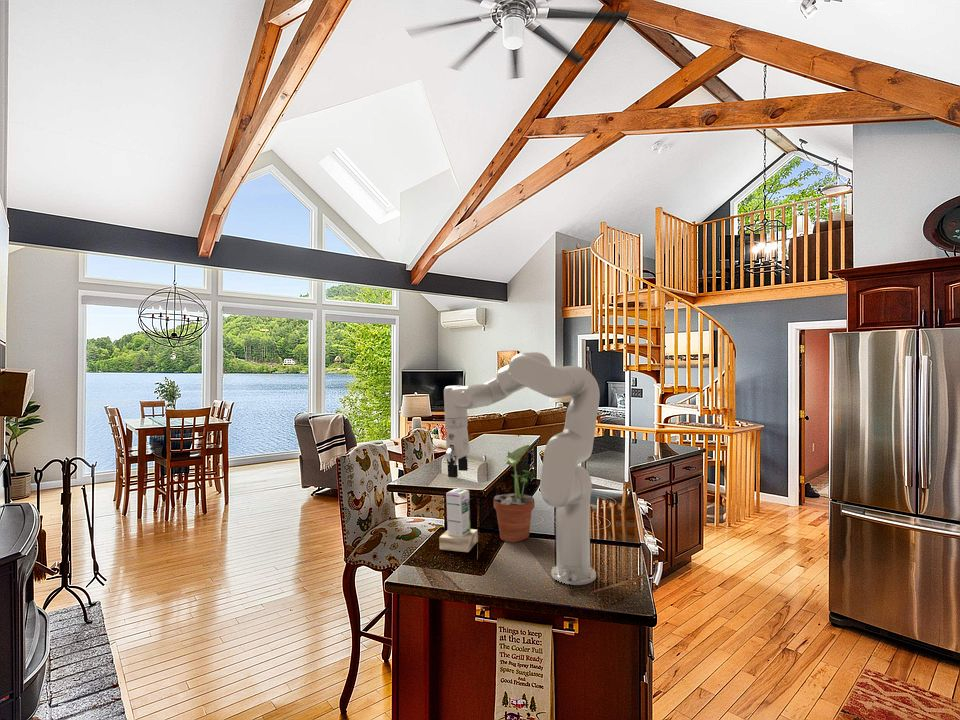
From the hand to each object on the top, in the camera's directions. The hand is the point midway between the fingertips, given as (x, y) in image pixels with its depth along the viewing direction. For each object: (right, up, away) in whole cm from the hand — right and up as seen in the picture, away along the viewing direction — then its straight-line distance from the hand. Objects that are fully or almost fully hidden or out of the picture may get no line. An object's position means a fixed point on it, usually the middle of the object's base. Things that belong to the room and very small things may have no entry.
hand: (458, 473), depth 174 cm
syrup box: (0, -20, 0) cm, 20 cm away
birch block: (0, -24, +1) cm, 24 cm away
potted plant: (+19, -24, +8) cm, 32 cm away
